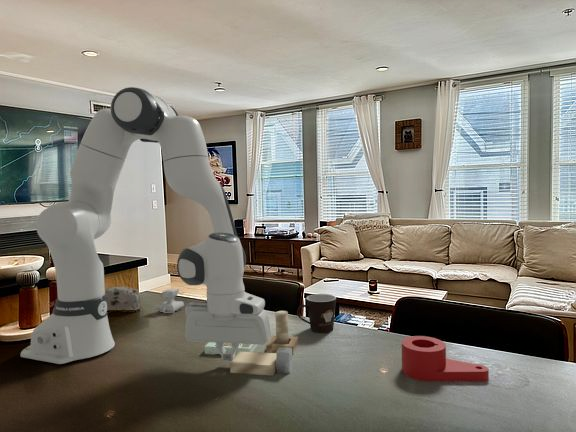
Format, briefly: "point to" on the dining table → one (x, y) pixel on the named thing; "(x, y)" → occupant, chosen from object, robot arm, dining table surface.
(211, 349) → the tray
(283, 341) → the dowel
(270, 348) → the socket block
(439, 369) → the lever
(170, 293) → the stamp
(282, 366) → the gray rectangular block
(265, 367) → the tan rectangular slab
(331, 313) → the coffee mug
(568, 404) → the dining table surface
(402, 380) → the dining table surface
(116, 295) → the stone
